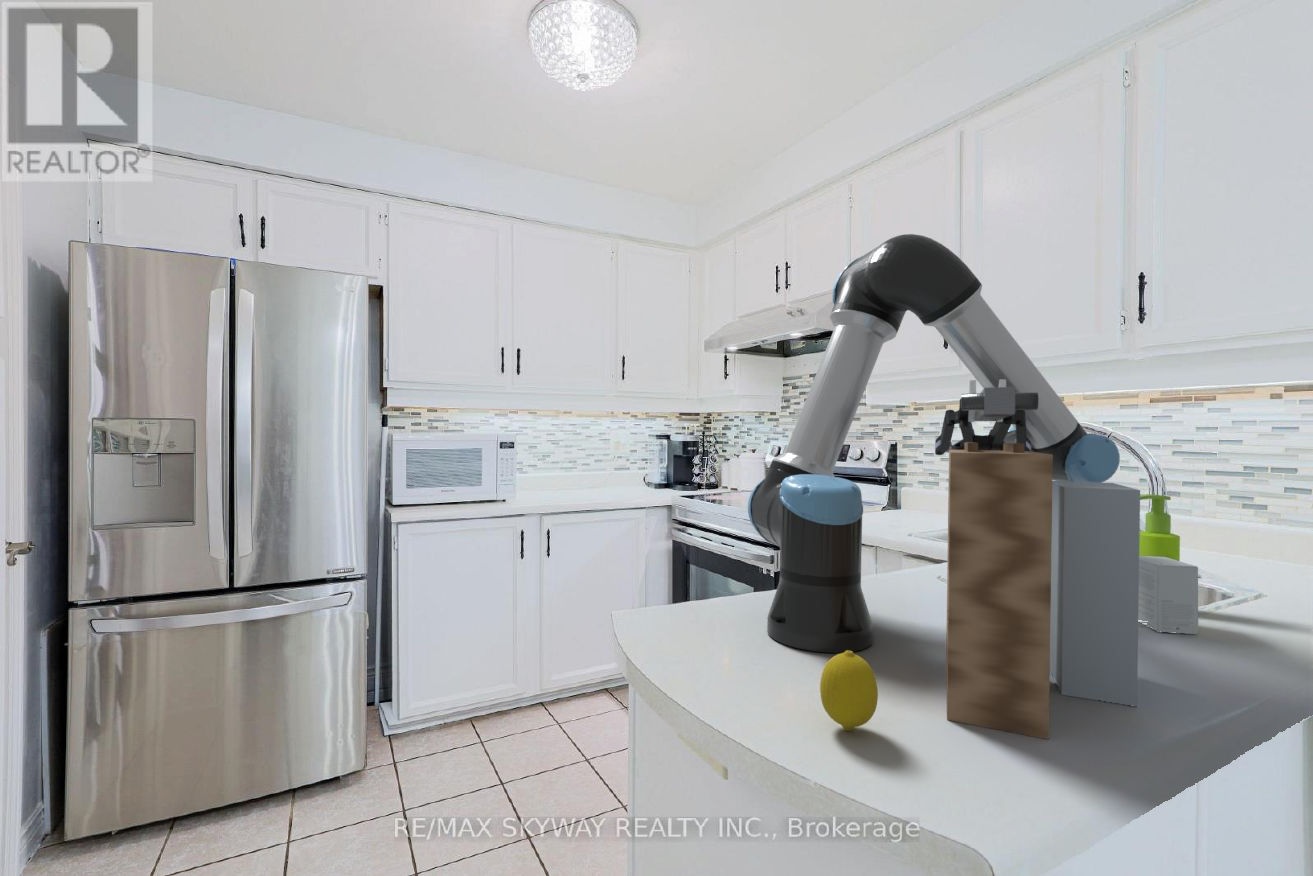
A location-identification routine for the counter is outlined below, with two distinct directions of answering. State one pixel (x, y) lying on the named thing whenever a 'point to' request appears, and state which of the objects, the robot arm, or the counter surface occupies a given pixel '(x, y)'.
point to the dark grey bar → (998, 403)
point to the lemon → (849, 690)
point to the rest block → (1095, 590)
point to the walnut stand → (999, 588)
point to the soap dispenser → (1158, 531)
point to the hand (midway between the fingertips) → (987, 388)
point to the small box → (1168, 595)
